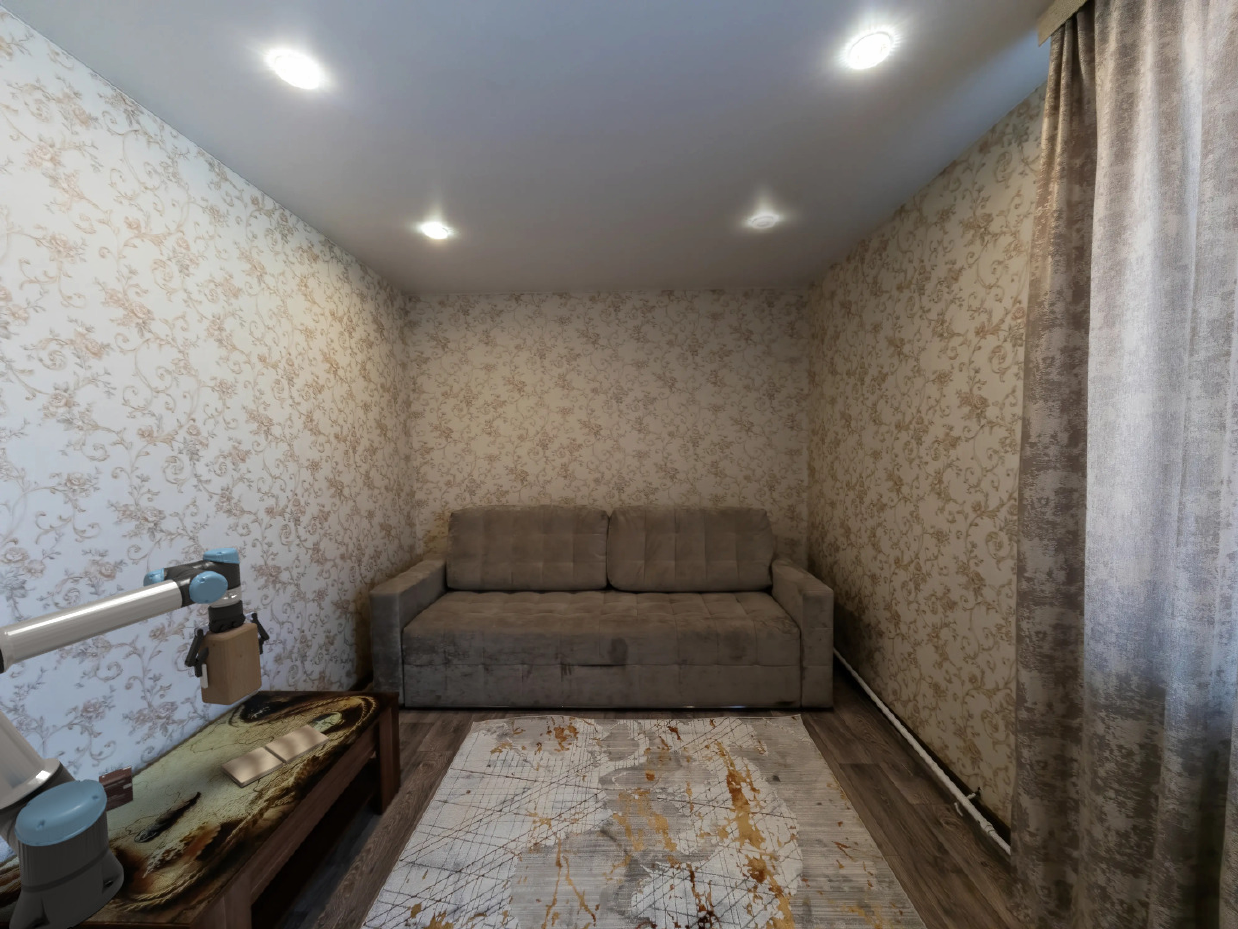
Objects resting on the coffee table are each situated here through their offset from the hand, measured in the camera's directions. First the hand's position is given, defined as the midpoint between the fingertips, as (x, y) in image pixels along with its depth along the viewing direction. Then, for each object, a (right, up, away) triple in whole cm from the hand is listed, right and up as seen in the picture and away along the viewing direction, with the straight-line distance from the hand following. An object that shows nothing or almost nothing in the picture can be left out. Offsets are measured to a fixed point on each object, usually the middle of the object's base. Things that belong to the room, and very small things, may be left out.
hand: (231, 676), depth 131 cm
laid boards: (+10, -28, +13) cm, 33 cm away
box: (-23, -30, -9) cm, 39 cm away
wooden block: (0, -6, 0) cm, 6 cm away
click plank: (+3, -29, +3) cm, 29 cm away
